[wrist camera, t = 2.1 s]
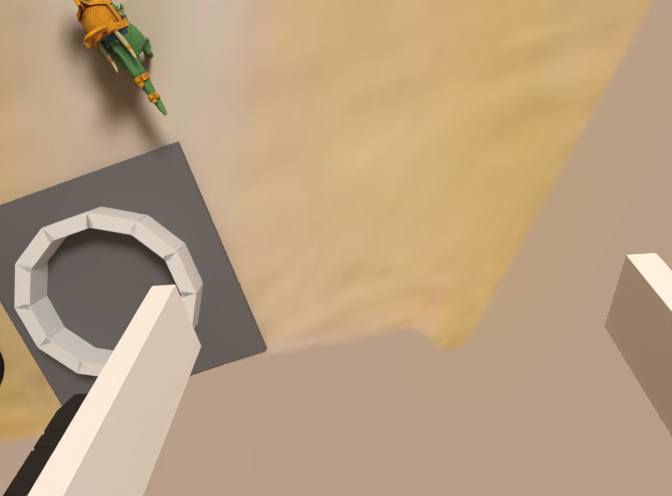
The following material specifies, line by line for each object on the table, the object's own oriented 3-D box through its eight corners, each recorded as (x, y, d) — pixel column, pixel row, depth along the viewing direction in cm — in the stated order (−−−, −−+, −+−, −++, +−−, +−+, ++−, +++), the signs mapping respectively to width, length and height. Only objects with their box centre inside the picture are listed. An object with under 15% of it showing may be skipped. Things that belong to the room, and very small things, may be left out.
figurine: (100, -37, 34) (36, -85, 26) (200, 105, 37) (169, 100, 29) (68, -12, 34) (-5, -52, 26) (169, 126, 37) (130, 127, 29)
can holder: (71, 412, 44) (53, 433, 41) (-42, 220, 38) (-72, 228, 35) (266, 347, 43) (263, 364, 40) (178, 141, 37) (166, 143, 34)
